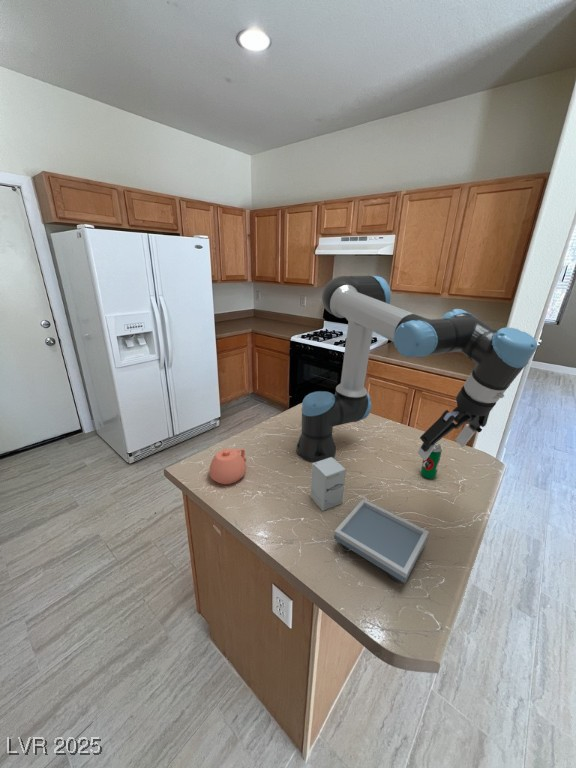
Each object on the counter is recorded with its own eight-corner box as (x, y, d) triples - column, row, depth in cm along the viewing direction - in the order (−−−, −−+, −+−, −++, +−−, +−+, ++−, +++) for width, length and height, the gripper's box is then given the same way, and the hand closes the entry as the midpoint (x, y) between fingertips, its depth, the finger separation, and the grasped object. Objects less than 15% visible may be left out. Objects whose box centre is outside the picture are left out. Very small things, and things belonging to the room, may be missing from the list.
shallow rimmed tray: (333, 548, 79) (334, 530, 77) (361, 514, 90) (362, 498, 88) (403, 592, 68) (406, 574, 66) (425, 548, 79) (428, 531, 77)
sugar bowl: (202, 476, 106) (200, 450, 102) (235, 459, 115) (234, 435, 112) (224, 493, 98) (222, 466, 94) (257, 473, 108) (256, 448, 104)
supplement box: (323, 512, 91) (325, 476, 86) (309, 496, 97) (311, 462, 92) (343, 504, 94) (346, 468, 90) (329, 489, 100) (331, 455, 96)
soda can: (437, 481, 104) (444, 450, 100) (421, 479, 105) (427, 448, 101) (434, 472, 109) (440, 442, 105) (418, 470, 110) (424, 440, 106)
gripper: (451, 417, 64) (414, 474, 78) (531, 393, 72) (484, 448, 86) (426, 393, 69) (395, 450, 83) (504, 373, 77) (464, 428, 91)
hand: (441, 449), depth 85 cm, fingers open, 13 cm apart
